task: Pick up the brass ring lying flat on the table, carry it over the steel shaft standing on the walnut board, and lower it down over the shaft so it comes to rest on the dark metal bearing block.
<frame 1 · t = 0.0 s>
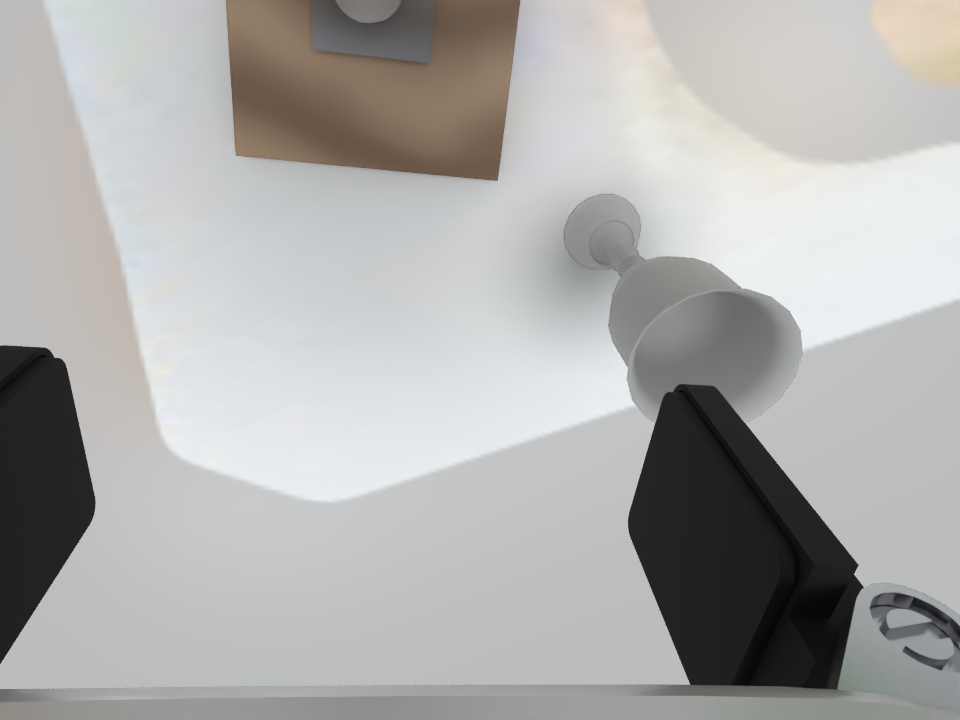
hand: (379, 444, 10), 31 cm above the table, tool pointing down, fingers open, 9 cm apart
chalice: (601, 231, 42), on the table
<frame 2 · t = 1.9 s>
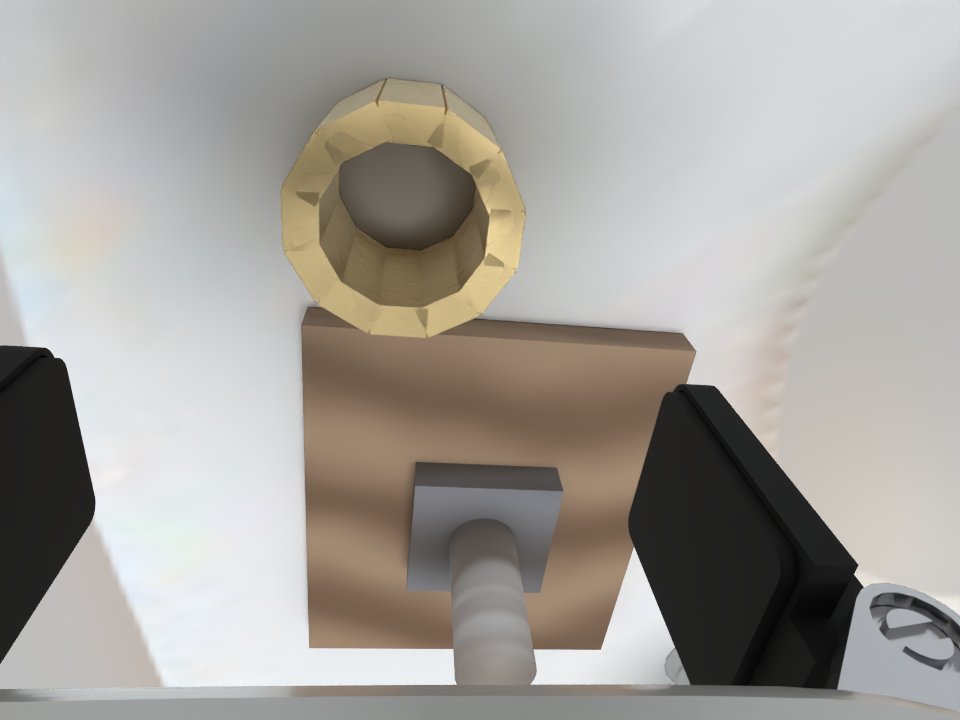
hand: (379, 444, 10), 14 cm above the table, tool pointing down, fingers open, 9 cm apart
chalice: (706, 657, 37), on the table
shaft stand: (476, 494, 30), on the table
ring: (408, 184, 22), on the table
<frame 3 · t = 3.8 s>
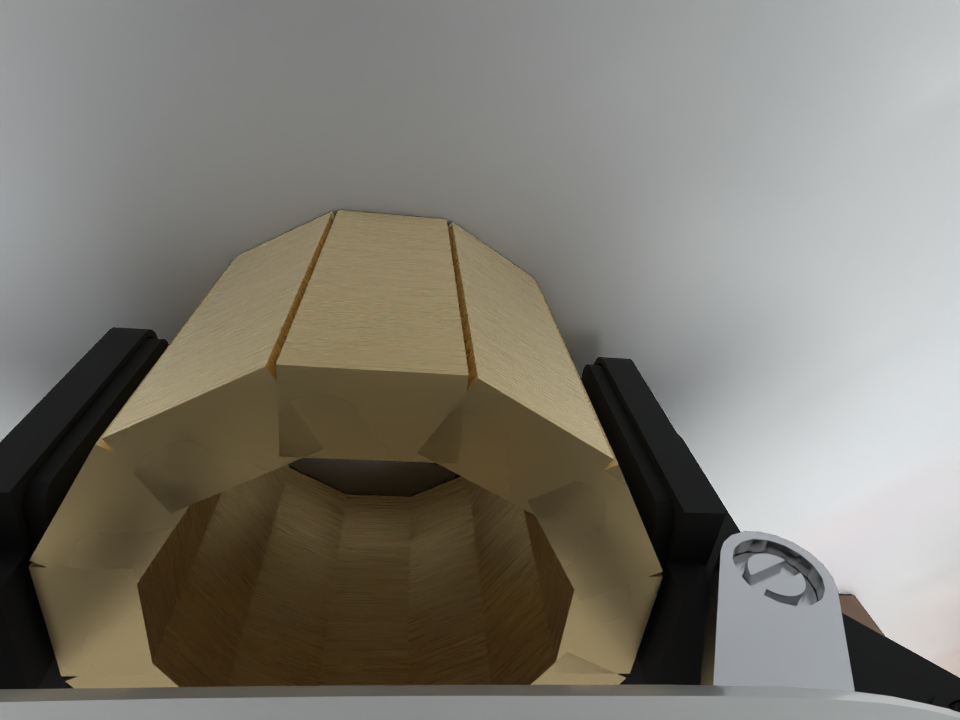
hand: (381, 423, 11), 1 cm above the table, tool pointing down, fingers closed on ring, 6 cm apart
ring: (383, 395, 12), on the table, touching gripper
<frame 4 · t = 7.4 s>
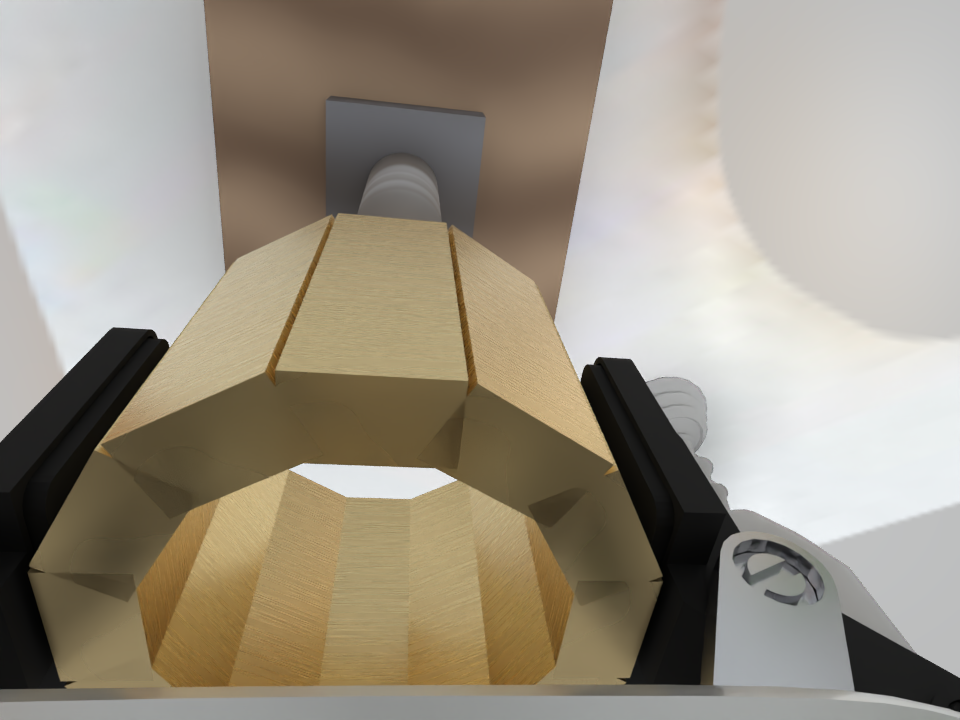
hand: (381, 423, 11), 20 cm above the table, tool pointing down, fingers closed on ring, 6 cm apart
chalice: (660, 414, 36), on the table
shaft stand: (404, 172, 28), on the table
ring: (383, 398, 12), point 19 cm above the table, touching gripper
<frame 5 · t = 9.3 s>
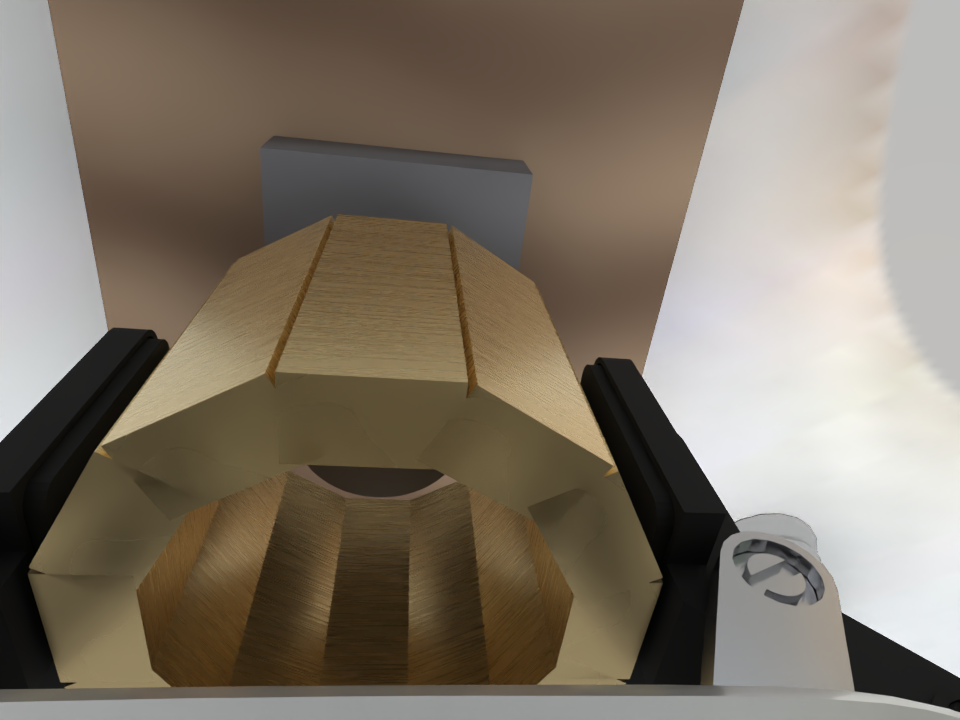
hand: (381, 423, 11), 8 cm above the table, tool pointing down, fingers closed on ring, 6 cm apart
chalice: (752, 557, 26), on the table
shaft stand: (397, 246, 18), on the table
ring: (383, 399, 12), point 8 cm above the table, touching gripper
when the fingers open (5 cm above the table, at t = 11.0 s): ring drops 1 cm, resting on shaft stand.
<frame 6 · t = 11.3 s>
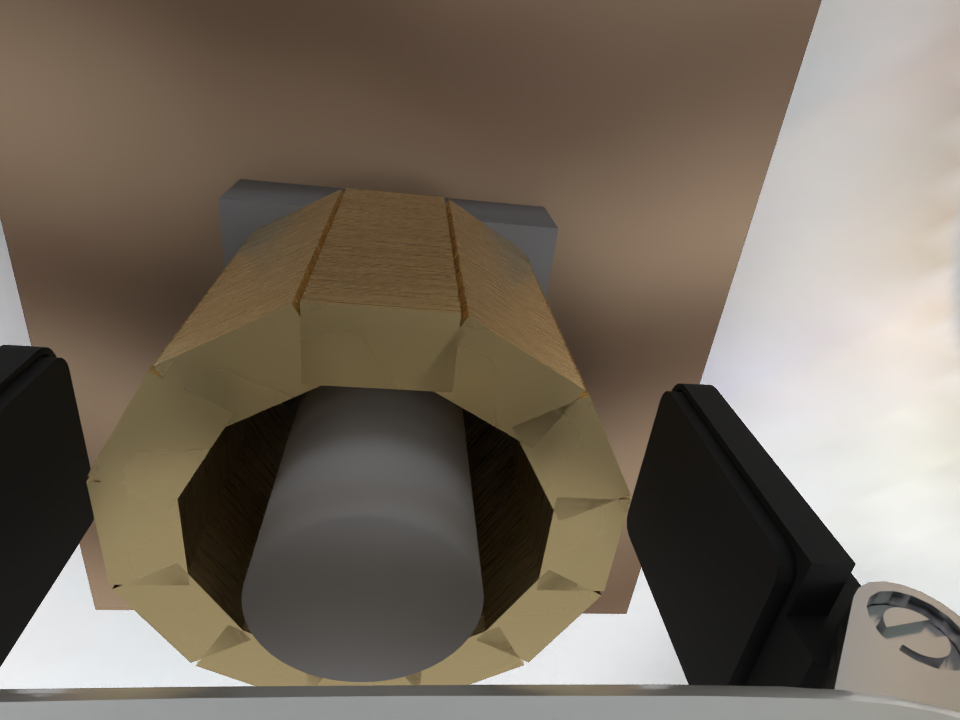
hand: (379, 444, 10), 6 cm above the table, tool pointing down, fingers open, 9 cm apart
shaft stand: (392, 302, 15), on the table
ring: (387, 360, 13), point 3 cm above the table, touching shaft stand
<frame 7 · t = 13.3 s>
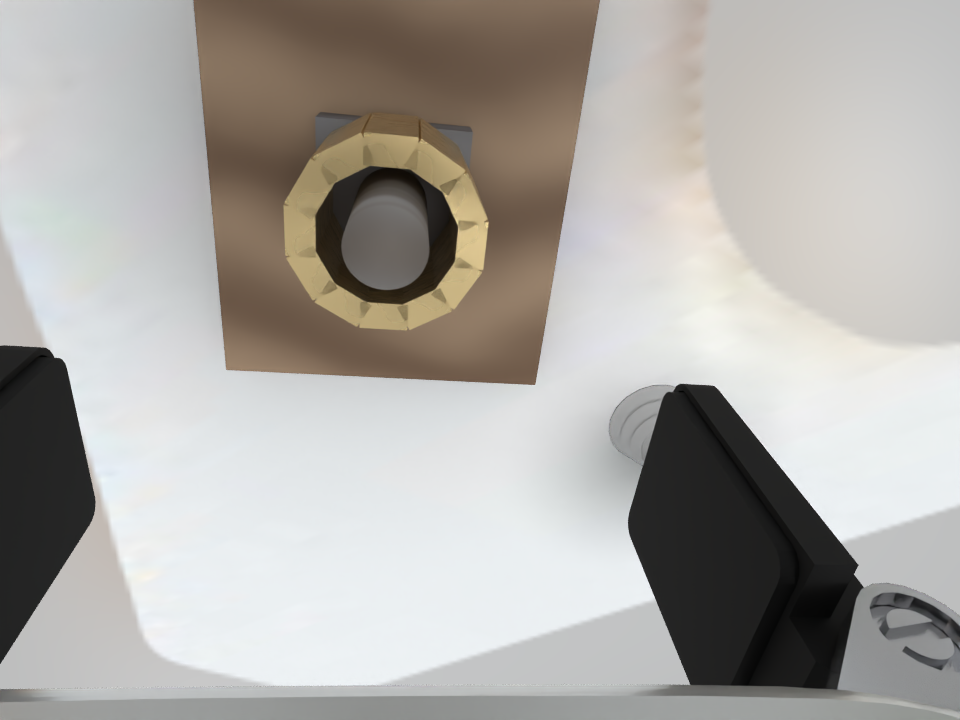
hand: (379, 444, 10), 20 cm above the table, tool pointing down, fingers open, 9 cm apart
chalice: (652, 421, 36), on the table
shaft stand: (394, 185, 28), on the table
ring: (392, 201, 26), point 3 cm above the table, touching shaft stand
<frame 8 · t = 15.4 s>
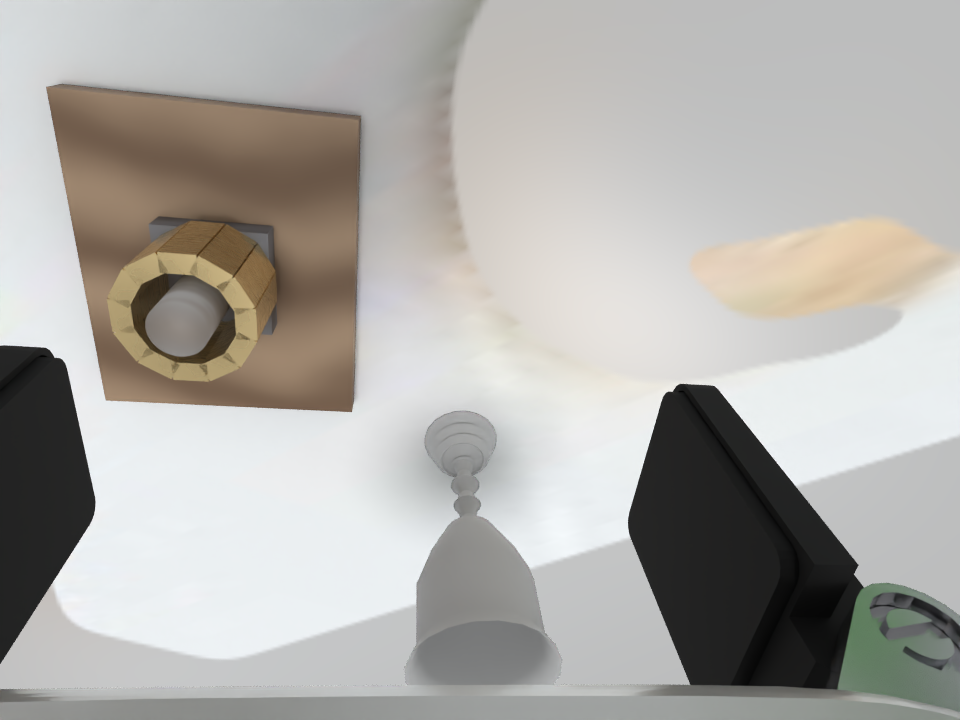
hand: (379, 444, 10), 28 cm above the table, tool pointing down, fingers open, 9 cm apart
chalice: (460, 439, 45), on the table
shaft stand: (227, 263, 37), on the table
ring: (213, 281, 35), point 3 cm above the table, touching shaft stand
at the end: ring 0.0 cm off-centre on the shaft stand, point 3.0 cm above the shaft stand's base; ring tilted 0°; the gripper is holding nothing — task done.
